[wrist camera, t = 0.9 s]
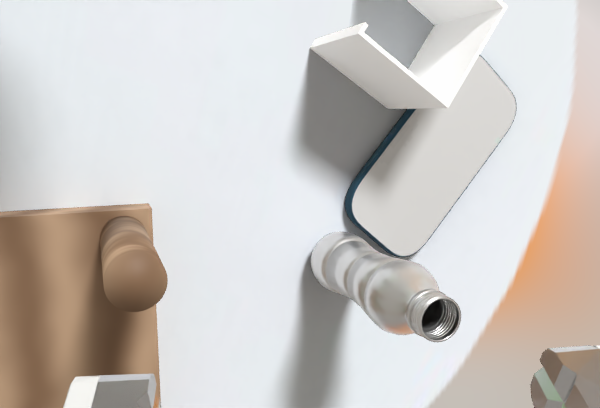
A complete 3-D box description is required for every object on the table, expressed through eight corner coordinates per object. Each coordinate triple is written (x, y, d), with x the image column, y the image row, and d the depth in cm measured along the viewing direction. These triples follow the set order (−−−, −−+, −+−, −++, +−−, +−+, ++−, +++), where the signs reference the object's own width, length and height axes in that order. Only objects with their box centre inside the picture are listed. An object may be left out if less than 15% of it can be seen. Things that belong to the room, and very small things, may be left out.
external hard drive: (399, 264, 63) (408, 269, 62) (330, 205, 59) (338, 208, 57) (514, 107, 66) (526, 107, 64) (456, 39, 62) (467, 37, 60)
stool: (-101, 467, 48) (-194, 639, 32) (-133, 219, 44) (-256, 277, 29) (158, 418, 55) (185, 537, 40) (148, 203, 52) (173, 241, 36)
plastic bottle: (351, 289, 61) (464, 365, 43) (296, 279, 59) (392, 355, 40) (367, 234, 61) (487, 286, 42) (312, 221, 58) (416, 271, 40)
